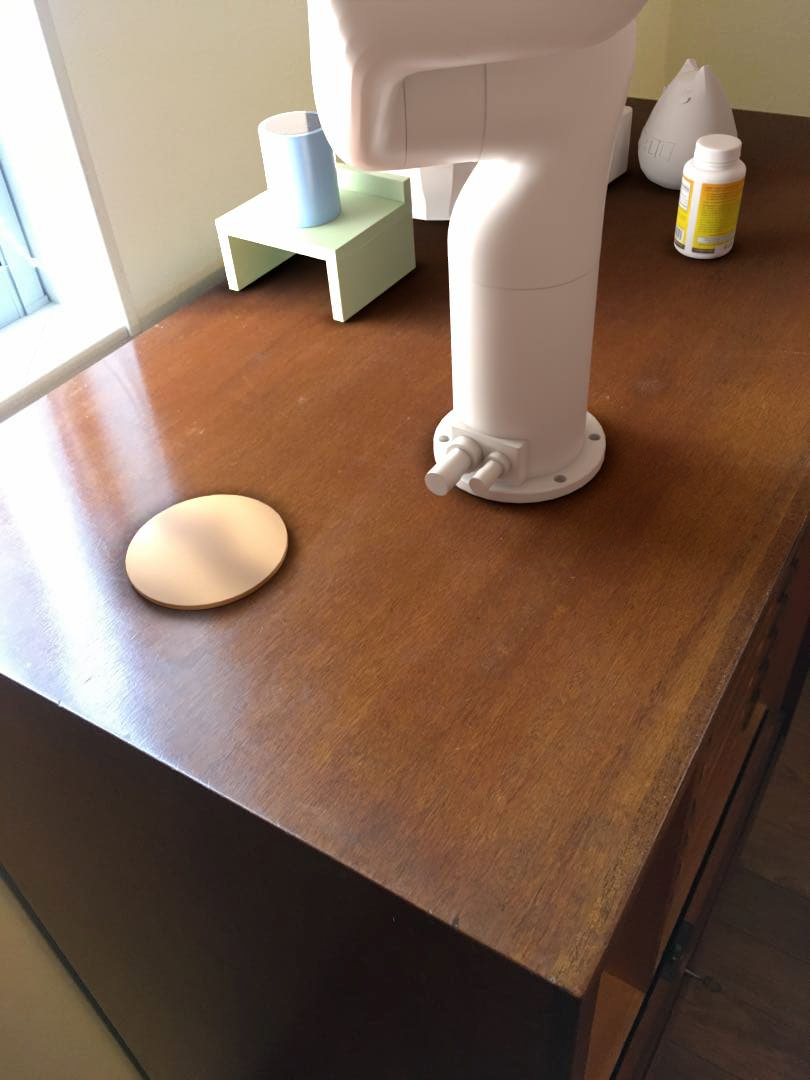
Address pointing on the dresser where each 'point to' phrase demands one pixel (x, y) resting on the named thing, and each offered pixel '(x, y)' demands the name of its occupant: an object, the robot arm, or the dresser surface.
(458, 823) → the dresser surface
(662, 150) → the toy character
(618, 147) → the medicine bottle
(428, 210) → the vase
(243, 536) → the coaster
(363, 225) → the shelf
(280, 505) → the dresser surface
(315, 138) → the cup
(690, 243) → the supplement bottle
